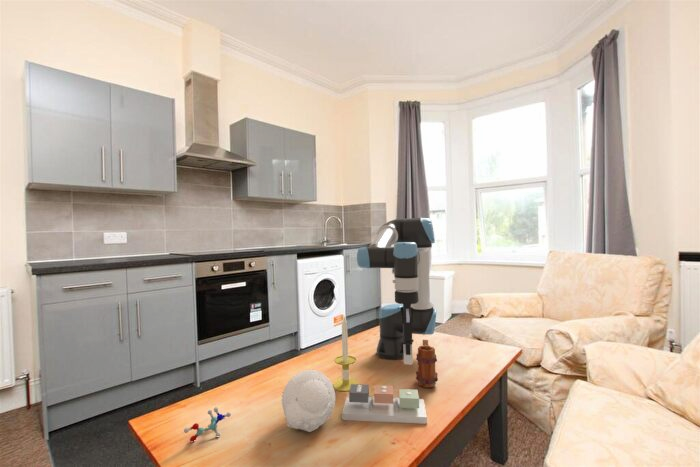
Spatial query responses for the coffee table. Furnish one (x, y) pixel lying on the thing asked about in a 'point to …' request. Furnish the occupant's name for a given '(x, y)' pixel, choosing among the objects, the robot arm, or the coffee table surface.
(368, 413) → the board
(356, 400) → the tile charcoal
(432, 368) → the mug
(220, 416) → the molecular model
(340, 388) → the candle
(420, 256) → the robot arm
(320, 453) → the coffee table surface
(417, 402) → the tile sage
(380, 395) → the tile terracotta
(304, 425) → the white rounded lump
